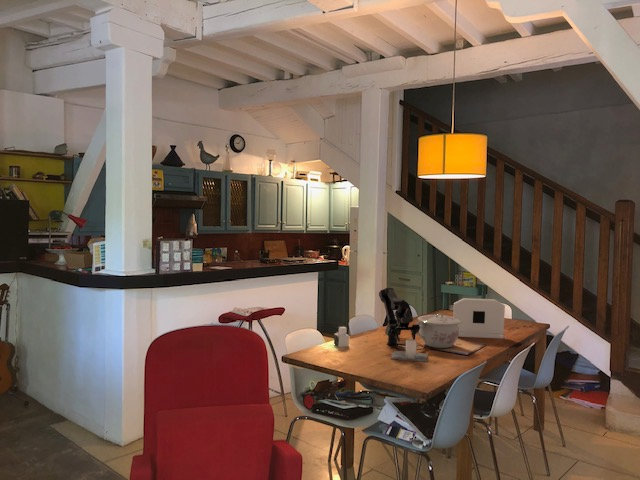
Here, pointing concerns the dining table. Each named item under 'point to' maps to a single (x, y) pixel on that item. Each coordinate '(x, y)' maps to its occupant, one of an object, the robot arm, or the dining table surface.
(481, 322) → the grey boxy block
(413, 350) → the canister
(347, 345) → the grey bottle
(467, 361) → the dining table surface
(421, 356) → the mat
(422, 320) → the chamber pot
